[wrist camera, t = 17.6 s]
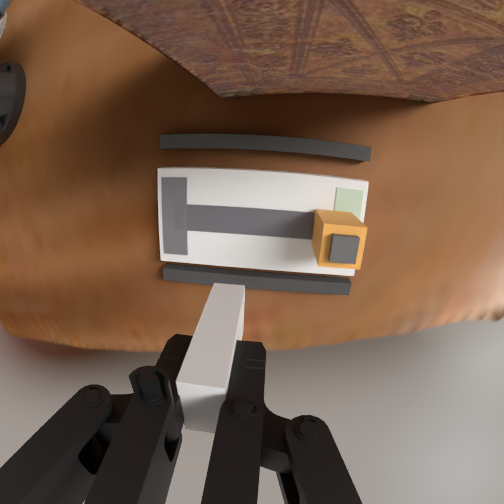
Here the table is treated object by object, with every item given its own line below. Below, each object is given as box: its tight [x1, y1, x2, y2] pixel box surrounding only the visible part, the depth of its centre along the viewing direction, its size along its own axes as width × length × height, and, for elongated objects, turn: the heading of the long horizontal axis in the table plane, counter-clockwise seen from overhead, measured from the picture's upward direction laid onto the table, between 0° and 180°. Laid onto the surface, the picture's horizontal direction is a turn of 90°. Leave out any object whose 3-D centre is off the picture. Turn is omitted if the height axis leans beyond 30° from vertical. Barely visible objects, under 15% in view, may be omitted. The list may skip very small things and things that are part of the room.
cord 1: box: [159, 134, 371, 162], centre depth 29 cm, size 2×23×2 cm, turn 87°
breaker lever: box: [311, 209, 367, 269], centre depth 27 cm, size 4×4×7 cm
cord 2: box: [163, 263, 351, 295], centre depth 35 cm, size 2×23×2 cm, turn 87°
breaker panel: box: [158, 167, 369, 276], centre depth 32 cm, size 11×23×2 cm, turn 87°
